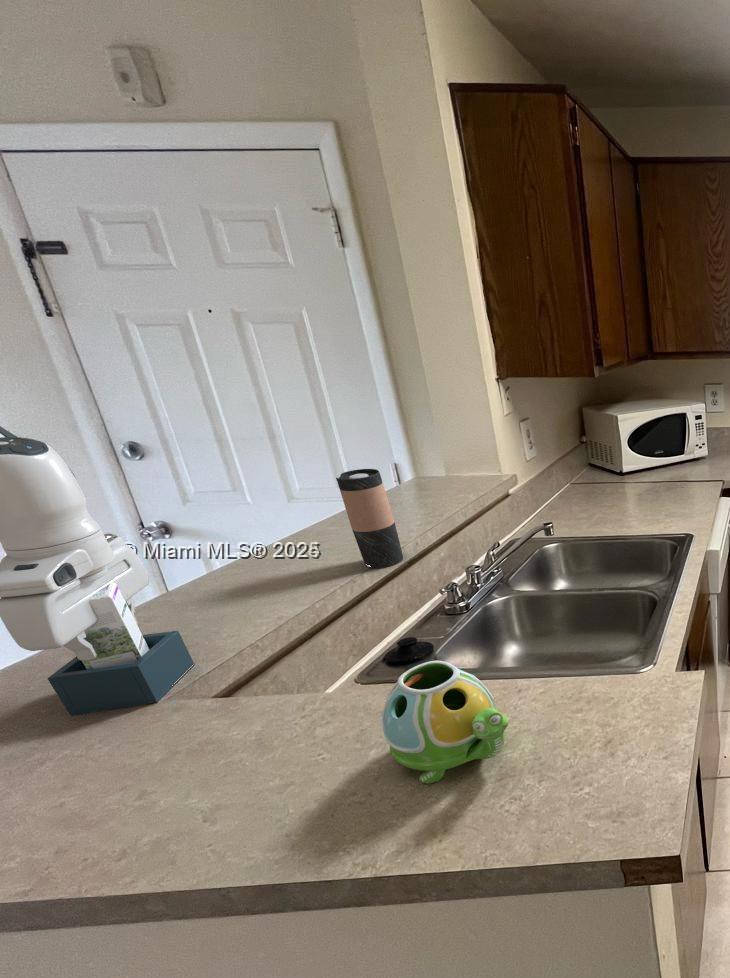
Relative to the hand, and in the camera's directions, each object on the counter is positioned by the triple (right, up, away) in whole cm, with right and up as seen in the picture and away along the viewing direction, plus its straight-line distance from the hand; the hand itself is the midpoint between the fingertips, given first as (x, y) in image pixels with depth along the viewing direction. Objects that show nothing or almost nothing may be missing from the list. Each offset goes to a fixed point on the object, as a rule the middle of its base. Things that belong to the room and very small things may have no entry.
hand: (110, 642), depth 89 cm
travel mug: (+10, +11, +45) cm, 47 cm away
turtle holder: (+56, -13, -8) cm, 58 cm away
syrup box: (0, -6, +3) cm, 6 cm away
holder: (0, -8, +4) cm, 8 cm away
